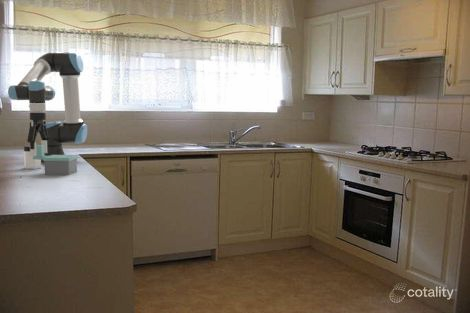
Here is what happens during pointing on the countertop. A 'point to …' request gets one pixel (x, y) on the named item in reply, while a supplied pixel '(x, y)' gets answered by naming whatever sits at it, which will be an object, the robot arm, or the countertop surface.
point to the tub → (60, 167)
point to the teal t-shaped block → (41, 155)
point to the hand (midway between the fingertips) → (39, 154)
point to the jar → (30, 159)
